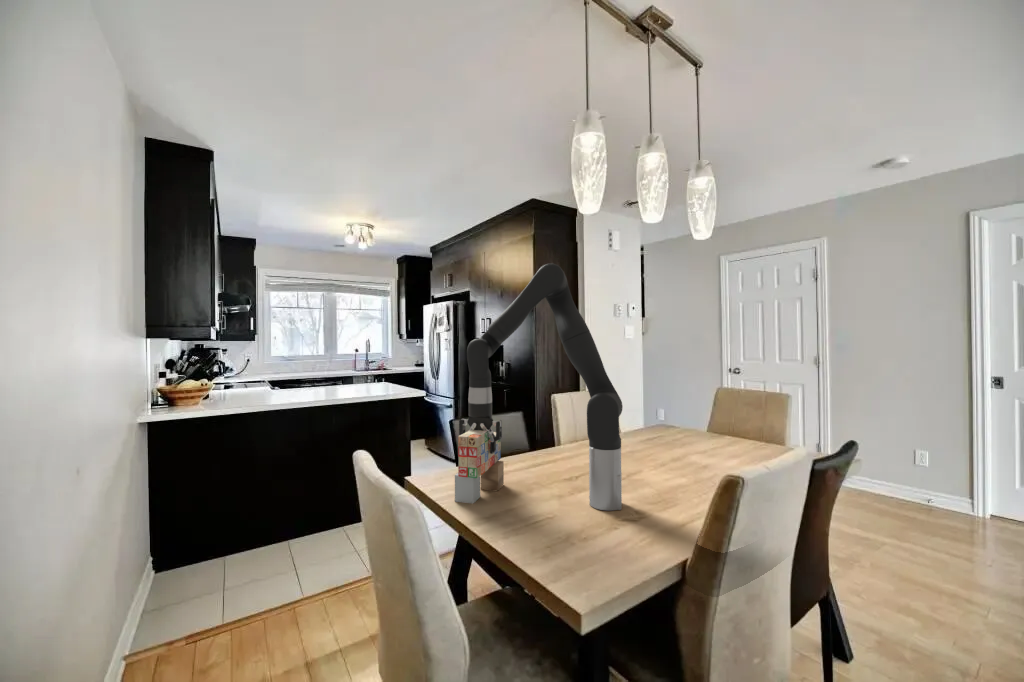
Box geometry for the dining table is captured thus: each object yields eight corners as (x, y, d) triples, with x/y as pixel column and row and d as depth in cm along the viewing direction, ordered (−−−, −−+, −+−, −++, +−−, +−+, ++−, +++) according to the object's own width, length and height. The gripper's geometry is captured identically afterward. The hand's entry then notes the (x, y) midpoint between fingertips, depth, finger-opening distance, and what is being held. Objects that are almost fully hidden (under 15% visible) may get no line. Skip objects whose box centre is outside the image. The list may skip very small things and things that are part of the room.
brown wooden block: (503, 485, 141) (503, 461, 141) (498, 491, 135) (498, 466, 135) (486, 483, 142) (486, 459, 142) (480, 489, 137) (480, 464, 137)
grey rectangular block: (480, 496, 130) (480, 470, 130) (473, 503, 125) (473, 476, 125) (462, 494, 132) (462, 469, 132) (454, 501, 126) (454, 475, 126)
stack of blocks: (484, 457, 145) (483, 422, 145) (501, 459, 143) (500, 423, 143) (458, 476, 125) (457, 435, 125) (477, 478, 123) (477, 436, 123)
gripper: (505, 400, 135) (505, 451, 135) (463, 398, 139) (464, 448, 139) (498, 403, 128) (498, 457, 128) (454, 401, 132) (455, 454, 132)
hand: (480, 452), depth 133 cm, fingers open, 7 cm apart
